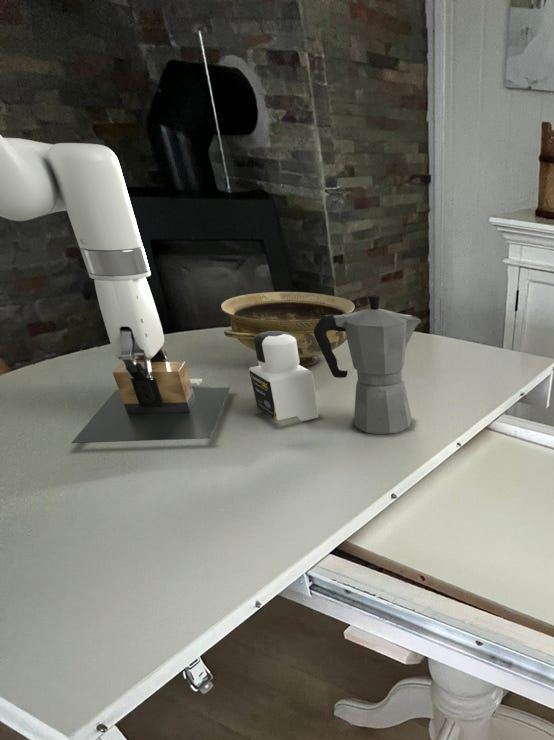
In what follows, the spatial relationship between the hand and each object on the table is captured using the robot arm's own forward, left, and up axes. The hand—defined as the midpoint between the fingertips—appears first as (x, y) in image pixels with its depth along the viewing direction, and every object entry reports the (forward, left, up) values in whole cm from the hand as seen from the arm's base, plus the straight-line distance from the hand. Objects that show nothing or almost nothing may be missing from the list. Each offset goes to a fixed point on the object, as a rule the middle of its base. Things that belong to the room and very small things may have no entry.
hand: (158, 396), depth 90 cm
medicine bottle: (+19, -2, -3) cm, 19 cm away
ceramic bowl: (+19, +28, -3) cm, 34 cm away
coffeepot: (+33, -7, -3) cm, 34 cm away
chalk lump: (+3, +12, -3) cm, 12 cm away
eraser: (0, 0, -2) cm, 2 cm away
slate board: (0, -2, -3) cm, 3 cm away
